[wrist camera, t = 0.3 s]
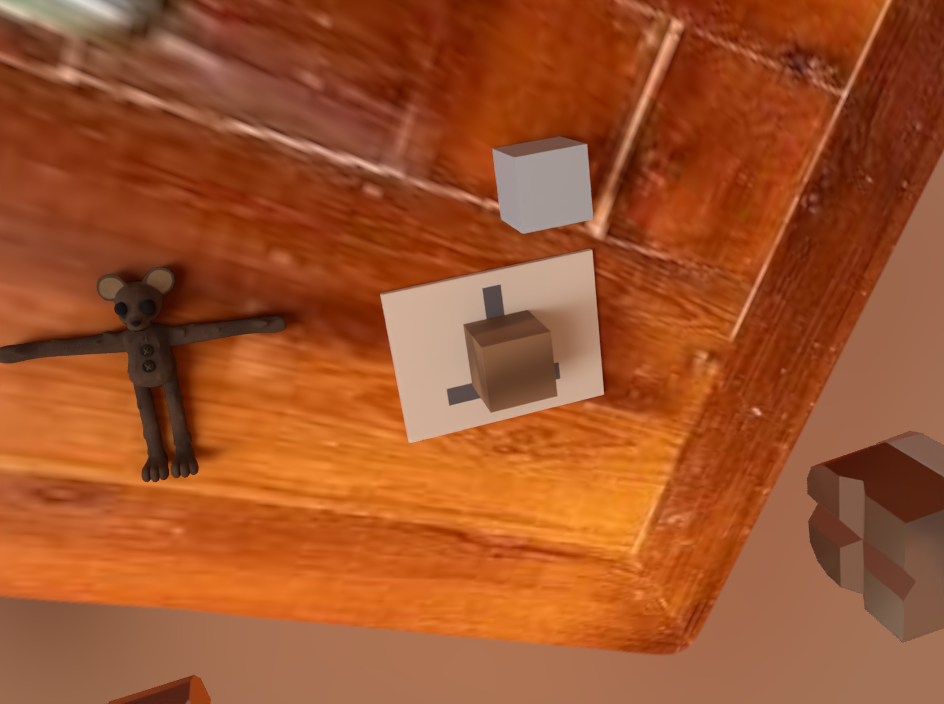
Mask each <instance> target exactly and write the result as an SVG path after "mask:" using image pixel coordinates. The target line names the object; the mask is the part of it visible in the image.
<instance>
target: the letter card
mask: <svg viewBox="0 0 944 704" xmlns="http://www.w3.org/2000/svg"><path fill="white" fill-rule="evenodd" d="M380 296H381V301H382V306H383V311H384V316H385V322H386V327H387V332H388V337H389V343H390V348H391V353H392V358H393V363H394V369H395V374H396V379H397V384H398V390H399V395H400V400H401V405H402V410H403V416H404V421H405V426H406V431H407V436H408V441H409V443H412V442H416V441H420V440H424V439H428V438H432V437H436V436H440V435H444V434H448V433H452V432H456V431H460V430H464V429H468V428H472V427H476V426H480V425H484V424H488V423H492V422H496V421H500V420H504V419H508V418H512V417H516V416H520V415H524V414H528V413H532V412H536V411H540V410H544V409H548V408H552V407H556V406H560V405H564V404H568V403H572V402H576V401H580V400H584V399H588V398H592V397H596V396H600V395H604V388H603V376H602V364H601V351H600V339H599V327H598V314H597V302H596V290H595V277H594V265H593V252H592V250H591V249H585V250H580V251H576V252H571V253H566V254H561V255H557V256H552V257H547V258H543V259H538V260H533V261H529V262H524V263H519V264H515V265H510V266H505V267H501V268H496V269H491V270H487V271H482V272H477V273H472V274H468V275H463V276H458V277H454V278H449V279H444V280H440V281H435V282H430V283H426V284H421V285H416V286H412V287H407V288H402V289H398V290H393V291H388V292H383V293H380ZM525 310H528V311H529V312H530V313H531V314H532V315H534V316H535V317H536V318H537V319H538V320H539V321H540V322H541V323H542V324H543V325H544V326H545V327H546V328H547V329H549V330H550V331H551V339H552V348H553V358H554V367H555V376H556V386H557V395H558V396H556V397H552V398H548V399H544V400H540V401H536V402H532V403H528V404H524V405H520V406H516V407H512V408H508V409H504V410H500V411H496V412H492V413H491V412H490V411H489V409H488V408H487V406H486V405H485V403H484V402H483V400H482V399H481V398H480V396H479V395H478V393H477V392H476V390H475V389H474V387H473V386H472V380H471V373H470V367H469V360H468V353H467V347H466V340H465V334H464V327H463V324H467V323H471V322H476V321H480V320H485V319H489V318H494V317H498V316H503V315H507V314H511V313H516V312H520V311H525Z"/></svg>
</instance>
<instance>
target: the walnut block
mask: <svg viewBox="0 0 944 704" xmlns="http://www.w3.org/2000/svg"><path fill="white" fill-rule="evenodd" d="M463 327H464V334H465V340H466V347H467V353H468V360H469V367H470V373H471V380H472V386H473V387H474V389H475V390H476V392H477V393H478V395H479V396H480V398H481V399H482V400H483V402H484V403H485V405H486V406H487V408H488V409H489V411H490V412H491V413H492V412H496V411H500V410H504V409H508V408H512V407H516V406H520V405H524V404H528V403H532V402H536V401H540V400H544V399H548V398H552V397H556V396H558V395H557V386H556V376H555V367H554V358H553V348H552V339H551V331H550V330H549V329H547V328H546V327H545V326H544V325H543V324H542V323H541V322H540V321H539V320H538V319H537V318H536V317H535V316H534V315H532V314H531V313H530V312H529V311H528V310H525V311H520V312H516V313H511V314H507V315H503V316H498V317H494V318H489V319H485V320H480V321H476V322H471V323H467V324H463Z"/></svg>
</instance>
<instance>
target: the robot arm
mask: <svg viewBox="0 0 944 704" xmlns="http://www.w3.org/2000/svg"><path fill="white" fill-rule="evenodd" d="M807 493H808V495H809V496H811V497H812V499H814V500H815V501H816V502H817V503H818V505H817V506H816V508H815V510H814V512H813V514H812V515H811V517H810V519H809V521H808V523H809V537H810V543H811V546H812V548H813V551H814V553H815V556H816V558H817V561H818V562H819V564H820V565H821V567H822V568H823V569H824V571H825V572H826V574H827V575H828V576H829V577H830V578H831V579H833V580H834V581H835V582H836V583H837V584H838V585H839V586H840V587H841V588H845V589H848V590H851V591H854V592H858V593H861V594H863V598H864V607H865V610H867V611H868V612H869V613H870V614H871V615H872V616H873V617H874V618H876V619H877V620H878V621H879V622H880V623H881V624H882V625H884V626H885V627H886V628H887V629H888V630H889V631H890V632H892V633H893V634H894V635H895V636H896V637H897V638H898V639H899V640H900V641H901V642H906V641H909V640H912V639H915V638H917V637H920V636H923V635H926V634H929V633H932V632H934V631H937V630H940V629H943V628H944V445H942V444H941V443H939V442H937V441H935V440H933V439H932V438H930V437H928V436H926V435H924V434H922V433H919V432H912V431H908V432H905V433H903V434H900V435H897V436H895V437H892V438H889V439H887V440H884V441H881V442H878V443H877V444H876V445H873V446H870V447H868V448H864V449H861V450H858V451H855V452H853V453H850V454H847V455H844V456H841V457H838V458H835V459H832V460H829V461H826V462H824V463H821V464H818V465H815V466H812V467H811V469H810V471H809V474H808V477H807ZM210 702H211V699H210V697H209V695H208V692H207V691H206V688H205V686H204V684H203V682H202V680H201V678H199V677H197V676H195V675H192V676H189V677H186V678H183V679H180V680H177V681H173V682H170V683H167V684H164V685H161V686H157V687H154V688H151V689H148V690H145V691H142V692H139V693H136V694H132V695H129V696H126V697H123V698H119V699H116V700H113V701H110V702H109V703H107V704H210Z"/></svg>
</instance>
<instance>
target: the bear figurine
mask: <svg viewBox="0 0 944 704" xmlns="http://www.w3.org/2000/svg"><path fill="white" fill-rule="evenodd" d="M174 284H175V277H174V274H173V272H172V271H171V270H169V269H167V268H164V267H156V268H153V269H151V270H150V271H149V272H148V273H147V274H146V275H145V277H144V279H143V281H133V282H129V283H126V282H125V281H124V280H123V279H122V278H120V277H119V276H117V275H115V274H106V275H104V276H102V277H101V278H100V279H99V280H98V282H97V291H98V293H99V295H100V296H101V297H102V298H103V299H105V300H107V301H114V302H115V307H114V310H115V312H116V314H118V315H119V318H120V320H121V321H122V322H123V323H124V324H125V325H127V328H128V329H127V330H125V331H123V332H120V333H116V332H112V331H107V332H104V333H103V334H100V335H95V336H88V337H81V338H73V339H52V340H51V341H39V342H31V343H24V344H17V345H8V346H3V347H1V348H0V362H1V363H16V362H20V361H25V360H29V359H35V358H43V357H53V356H69V355H85V354H102V353H118V352H127V353H128V359H129V362H128V373H129V377H130V380H131V381H132V382H133V384H134V389H135V393H136V398H137V405H138V409H139V411H140V415H141V419H142V424H143V436H144V438H145V439H146V442H147V447H148V455H149V457H148V460H147V462H146V464H145V466H144V467H143V469H142V479H143V480H144V481H145V482H149V481H150V480H151V479H152V481H153V482H157V481H158V480H159V478H160V479H161V480H165V479H167V478H168V476H169V468H168V457H167V455H166V452H165V450H164V447H163V442H162V438H161V433H160V429H159V424H158V420H157V415H156V411H155V406H154V402H153V397H152V393H151V388H150V387H157V386H161V385H163V386H164V391H165V396H166V401H167V406H168V410H169V415H170V420H171V425H172V430H173V437H174V444H175V446H176V455H175V458H174V461H173V463H172V465H171V474H172V476H173V477H174V478H178V477H180V475H182V477H184V478H186V477H188V476H189V474H190V473H191V474H192V475H195V474H197V473H198V470H199V467H198V463H197V461H196V459H195V455H194V452H193V449H192V447H191V443H190V442H191V441H192V439H191V434H190V432H189V431H188V428H187V423H186V418H185V413H184V408H183V403H182V398H181V393H180V388H179V383H178V378H177V369H176V364H177V363H176V360H175V358H174V356H173V353H172V349H171V346H178V345H184V344H190V343H195V342H201V341H207V340H212V339H218V338H224V337H230V336H236V335H242V334H251V333H275V332H280V331H283V330H284V329H285V328H286V326H287V324H286V321H285V320H284V319H283V318H282V317H281V316H268V317H258V318H249V319H243V320H232V321H224V322H216V323H206V324H194V323H192V324H188V325H184V326H175V327H169V326H166V325H162V324H159V323H152V322H153V321H154V320H155V319H156V317H157V316H158V314H159V313H160V311H161V307H162V296H163V295H164V294H167V293H169V292H170V291H171V290H172V289H173V287H174Z"/></svg>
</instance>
